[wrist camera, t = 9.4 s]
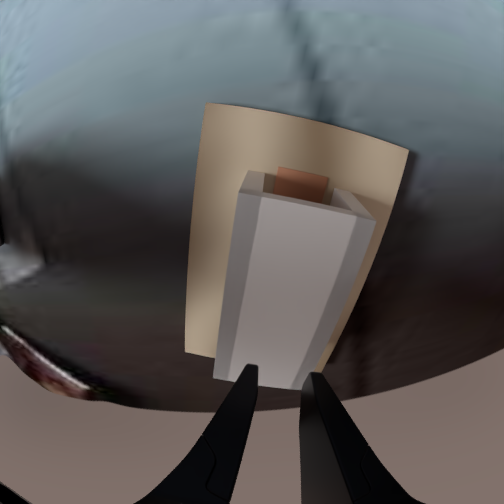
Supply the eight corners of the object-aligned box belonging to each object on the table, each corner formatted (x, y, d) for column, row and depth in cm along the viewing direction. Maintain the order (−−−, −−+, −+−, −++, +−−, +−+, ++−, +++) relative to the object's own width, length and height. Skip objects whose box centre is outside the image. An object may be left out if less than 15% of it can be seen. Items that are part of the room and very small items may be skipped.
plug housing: (223, 329, 18) (213, 377, 14) (248, 170, 13) (238, 192, 9) (300, 340, 18) (303, 390, 14) (349, 191, 13) (376, 221, 9)
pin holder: (188, 342, 20) (174, 384, 16) (210, 103, 12) (187, 99, 9) (319, 362, 20) (324, 405, 16) (401, 147, 13) (439, 161, 9)
